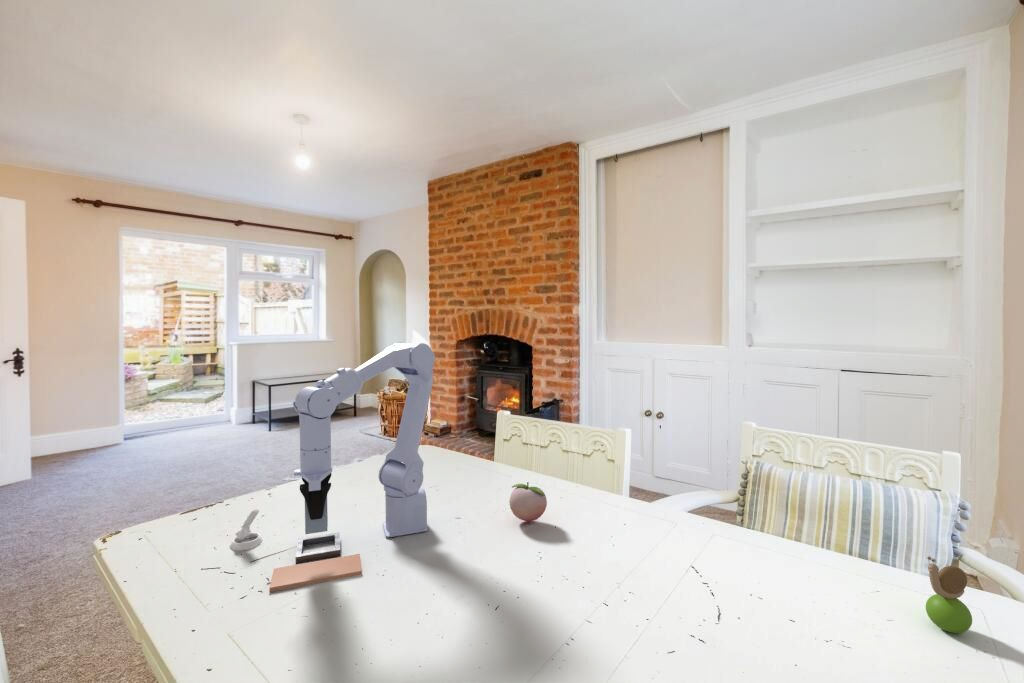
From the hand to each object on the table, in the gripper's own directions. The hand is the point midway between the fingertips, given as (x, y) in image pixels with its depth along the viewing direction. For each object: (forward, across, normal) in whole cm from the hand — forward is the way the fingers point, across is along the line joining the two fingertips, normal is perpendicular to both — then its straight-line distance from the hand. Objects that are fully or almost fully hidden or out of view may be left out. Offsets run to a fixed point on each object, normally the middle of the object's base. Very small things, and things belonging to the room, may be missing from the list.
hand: (316, 513), depth 93 cm
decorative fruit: (+11, -3, +47) cm, 48 cm away
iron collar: (+10, -6, 0) cm, 12 cm away
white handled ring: (+11, -15, -15) cm, 24 cm away
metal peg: (+3, 0, 0) cm, 3 cm away
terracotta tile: (+10, +4, 0) cm, 11 cm away
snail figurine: (+10, +57, +94) cm, 111 cm away
